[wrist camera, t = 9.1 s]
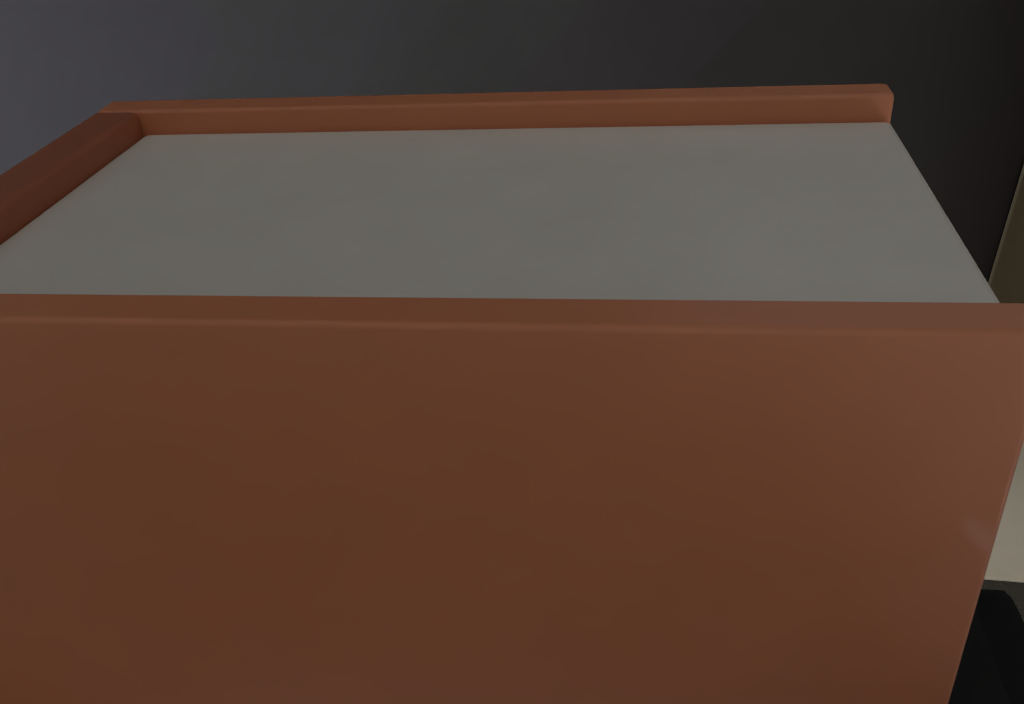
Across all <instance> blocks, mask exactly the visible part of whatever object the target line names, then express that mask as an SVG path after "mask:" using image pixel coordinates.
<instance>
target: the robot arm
mask: <svg viewBox="0 0 1024 704" xmlns="http://www.w3.org/2000/svg"><path fill="white" fill-rule="evenodd" d="M948 704H1024V623H1023V620H1022V618H1021V615H1020V613H1019V611H1018V609H1017V607H1016V605H1015V603H1014V602H1013V600H1012V598H1011V597H1010V596H1009V595H1008V594H1007V593H1006V592H1005V591H1002V590H986V589H981V591H980V594H979V598H978V601H977V605H976V608H975V612H974V615H973V619H972V622H971V626H970V629H969V633H968V636H967V640H966V643H965V647H964V650H963V654H962V657H961V660H960V664H959V667H958V671H957V674H956V678H955V681H954V685H953V688H952V692H951V695H950V699H949V702H948Z"/></svg>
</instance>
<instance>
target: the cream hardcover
mask: <svg viewBox="0 0 1024 704" xmlns="http://www.w3.org/2000/svg"><path fill="white" fill-rule="evenodd" d="M988 284H989V286H990V287H991V289H992V291H993V292H994V294H995V296H996V297H997V299H998V301H999V302H1000V303H1024V164H1023V168H1022V171H1021V174H1020V178H1019V181H1018V184H1017V188H1016V191H1015V194H1014V198H1013V201H1012V204H1011V208H1010V211H1009V214H1008V218H1007V221H1006V224H1005V228H1004V231H1003V234H1002V238H1001V241H1000V244H999V248H998V251H997V254H996V258H995V261H994V264H993V268H992V271H991V274H990V278H989V281H988ZM984 579H987V580H1000V581H1012V582H1024V441H1023V445H1022V448H1021V452H1020V455H1019V459H1018V462H1017V466H1016V469H1015V473H1014V476H1013V480H1012V483H1011V486H1010V490H1009V493H1008V497H1007V500H1006V504H1005V507H1004V511H1003V514H1002V518H1001V521H1000V525H999V528H998V532H997V535H996V539H995V542H994V546H993V549H992V553H991V556H990V560H989V563H988V567H987V570H986V573H985V577H984Z"/></svg>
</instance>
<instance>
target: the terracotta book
mask: <svg viewBox="0 0 1024 704" xmlns="http://www.w3.org/2000/svg"><path fill="white" fill-rule="evenodd" d="M893 101H894V95H893V93H892V91H891V90H890V88H889V87H888V85H886V84H849V85H806V86H763V87H720V88H677V89H634V90H591V91H548V92H505V93H462V94H419V95H376V96H333V97H290V98H246V99H203V100H160V101H117V102H112V103H111V104H109V105H107V106H106V107H104V108H103V109H101V110H100V111H99V112H98V113H97V114H95V115H93V116H92V117H90V118H88V119H87V120H85V121H84V122H82V123H81V124H79V125H78V126H76V127H75V128H73V129H71V130H70V131H68V132H67V133H65V134H64V135H62V136H61V137H59V138H58V139H56V140H54V141H53V142H51V143H50V144H48V145H47V146H45V147H44V148H42V149H41V150H39V151H37V152H36V153H34V154H33V155H31V156H30V157H28V158H27V159H25V160H23V161H22V162H20V163H19V164H17V165H16V166H14V167H13V168H11V169H10V170H8V171H6V172H5V173H3V174H2V175H0V704H948V702H949V699H950V695H951V692H952V688H953V685H954V681H955V678H956V674H957V671H958V667H959V664H960V660H961V657H962V654H963V650H964V647H965V643H966V640H967V636H968V633H969V629H970V626H971V622H972V619H973V615H974V612H975V608H976V605H977V601H978V598H979V594H980V591H981V587H982V584H983V580H984V577H985V573H986V570H987V567H988V563H989V560H990V556H991V553H992V549H993V546H994V542H995V539H996V535H997V532H998V528H999V525H1000V521H1001V518H1002V514H1003V511H1004V507H1005V504H1006V500H1007V497H1008V493H1009V490H1010V486H1011V483H1012V480H1013V476H1014V473H1015V469H1016V466H1017V462H1018V459H1019V455H1020V452H1021V448H1022V445H1023V441H1024V303H1000V302H999V301H998V299H997V297H996V296H995V294H994V292H993V291H992V289H991V287H990V286H989V284H988V283H987V281H986V279H985V278H984V276H983V274H982V273H981V271H980V269H979V268H978V266H977V265H976V263H975V261H974V260H973V258H972V256H971V255H970V253H969V251H968V250H967V248H966V247H965V245H964V243H963V242H962V240H961V238H960V237H959V235H958V233H957V232H956V230H955V229H954V227H953V225H952V224H951V222H950V220H949V219H948V217H947V215H946V214H945V212H944V211H943V209H942V207H941V206H940V204H939V202H938V201H937V199H936V197H935V196H934V194H933V193H932V191H931V189H930V188H929V186H928V184H927V183H926V181H925V179H924V178H923V176H922V175H921V173H920V171H919V170H918V168H917V166H916V165H915V163H914V161H913V160H912V158H911V157H910V155H909V153H908V152H907V150H906V148H905V147H904V145H903V143H902V142H901V140H900V139H899V137H898V135H897V134H896V132H895V130H894V129H893V127H892V125H891V124H890V121H891V114H892V108H893Z"/></svg>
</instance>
